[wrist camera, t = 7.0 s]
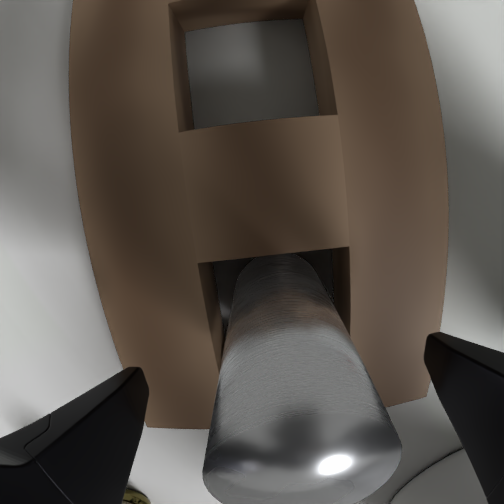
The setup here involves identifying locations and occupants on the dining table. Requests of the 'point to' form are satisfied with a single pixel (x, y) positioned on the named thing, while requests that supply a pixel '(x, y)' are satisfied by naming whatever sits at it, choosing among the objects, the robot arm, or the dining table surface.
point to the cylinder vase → (444, 484)
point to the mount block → (258, 187)
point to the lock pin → (294, 398)
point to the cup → (134, 498)
